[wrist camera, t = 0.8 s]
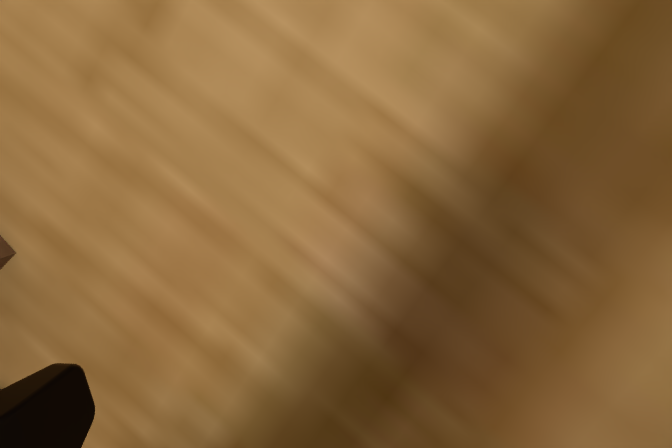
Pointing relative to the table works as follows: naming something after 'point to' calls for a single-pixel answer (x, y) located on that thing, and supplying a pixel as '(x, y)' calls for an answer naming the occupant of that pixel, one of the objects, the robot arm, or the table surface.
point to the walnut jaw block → (5, 252)
